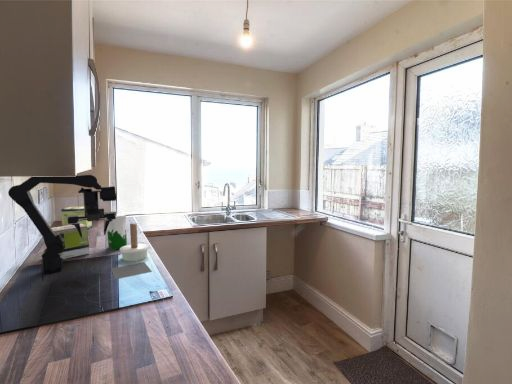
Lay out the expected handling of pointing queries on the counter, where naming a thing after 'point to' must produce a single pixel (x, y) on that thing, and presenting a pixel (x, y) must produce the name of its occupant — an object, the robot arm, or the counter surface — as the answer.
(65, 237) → the tea box
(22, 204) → the robot arm
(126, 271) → the mat
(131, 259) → the bowl
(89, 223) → the protein box
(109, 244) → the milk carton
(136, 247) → the peg on round base
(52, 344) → the counter surface
